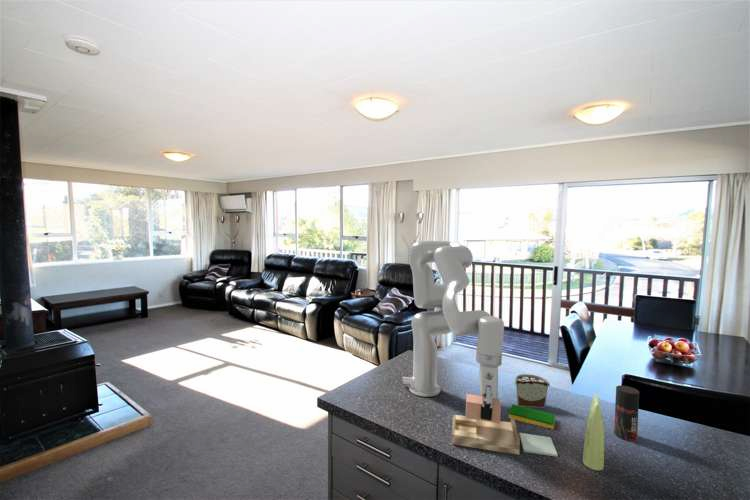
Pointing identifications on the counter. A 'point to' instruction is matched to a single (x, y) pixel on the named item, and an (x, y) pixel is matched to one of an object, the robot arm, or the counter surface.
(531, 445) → the mat
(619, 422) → the deodorant
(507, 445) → the open box
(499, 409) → the block
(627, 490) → the counter surface
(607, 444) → the counter surface
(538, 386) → the food container
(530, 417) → the dish sponge
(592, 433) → the tube
